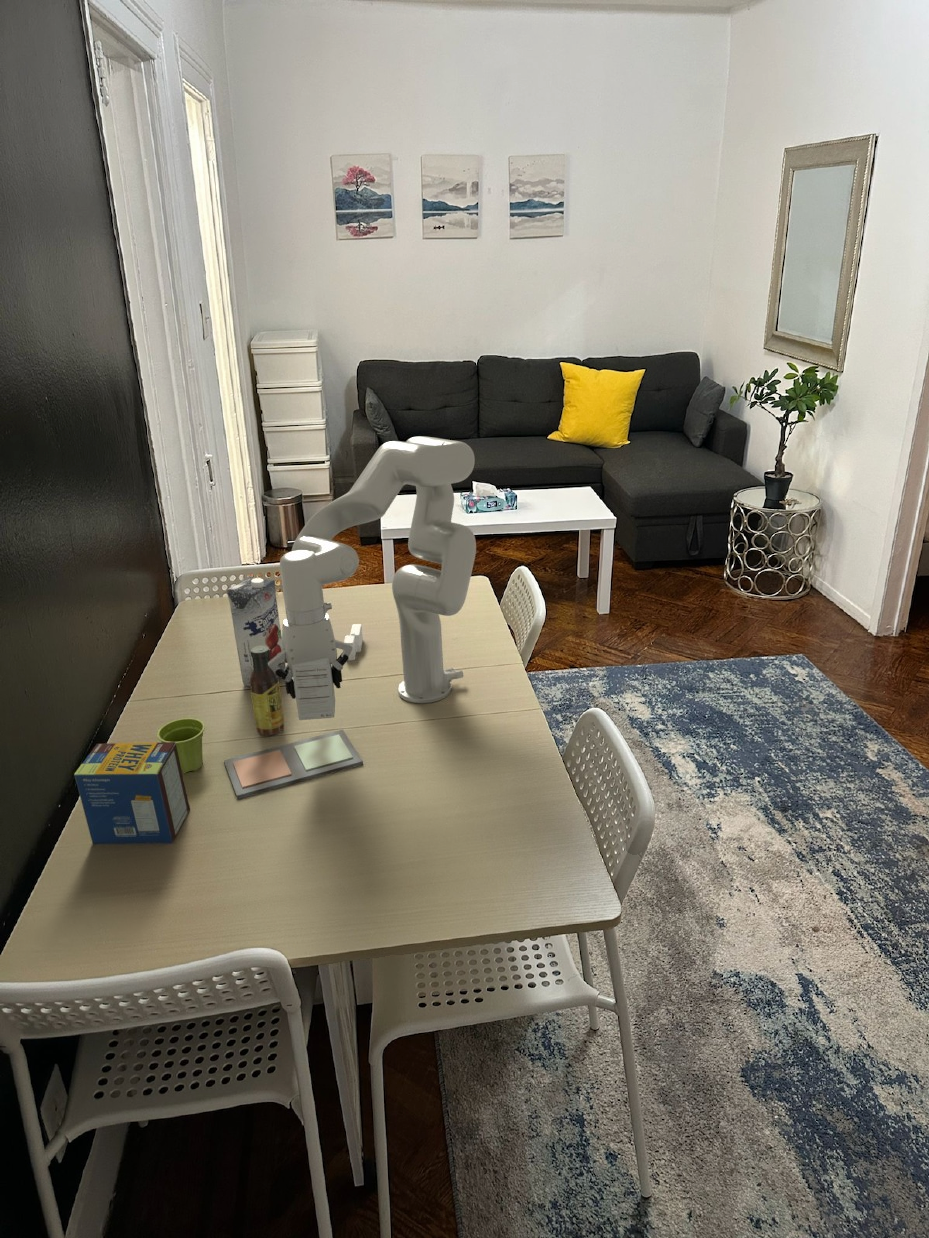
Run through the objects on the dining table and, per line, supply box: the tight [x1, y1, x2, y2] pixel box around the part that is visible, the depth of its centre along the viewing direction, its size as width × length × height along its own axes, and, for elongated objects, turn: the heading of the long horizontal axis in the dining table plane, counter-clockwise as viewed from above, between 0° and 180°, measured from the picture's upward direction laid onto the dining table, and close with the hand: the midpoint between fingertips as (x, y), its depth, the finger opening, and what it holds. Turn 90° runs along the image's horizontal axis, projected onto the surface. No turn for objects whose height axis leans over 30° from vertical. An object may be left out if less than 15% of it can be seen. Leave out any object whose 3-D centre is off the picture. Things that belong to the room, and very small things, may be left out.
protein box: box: [73, 741, 191, 845], centre depth 164 cm, size 10×15×16 cm
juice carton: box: [226, 576, 287, 688], centre depth 214 cm, size 9×10×27 cm
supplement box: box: [292, 658, 336, 721], centre depth 180 cm, size 7×7×13 cm
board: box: [223, 729, 364, 800], centre depth 184 cm, size 26×14×1 cm, turn 114°
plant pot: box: [157, 717, 206, 774], centre depth 184 cm, size 9×9×9 cm
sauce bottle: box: [250, 645, 285, 736], centre depth 194 cm, size 7×6×20 cm
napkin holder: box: [343, 623, 364, 661], centre depth 231 cm, size 15×11×6 cm
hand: (314, 690), depth 180 cm, fingers closed on supplement box, 8 cm apart
